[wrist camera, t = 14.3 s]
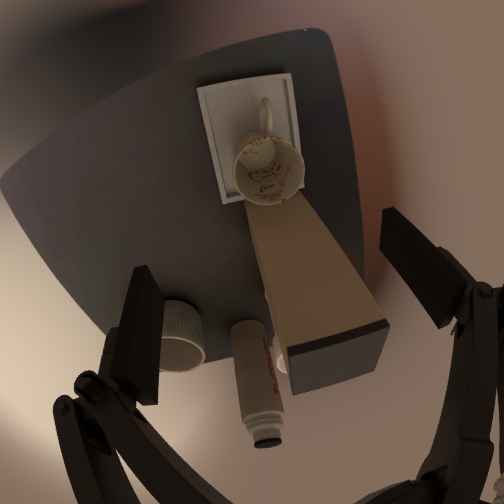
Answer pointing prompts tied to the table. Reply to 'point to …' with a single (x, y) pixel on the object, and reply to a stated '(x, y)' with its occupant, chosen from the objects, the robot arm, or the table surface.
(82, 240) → the table surface
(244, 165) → the mug
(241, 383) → the thermos bottle
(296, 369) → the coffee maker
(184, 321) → the planter
